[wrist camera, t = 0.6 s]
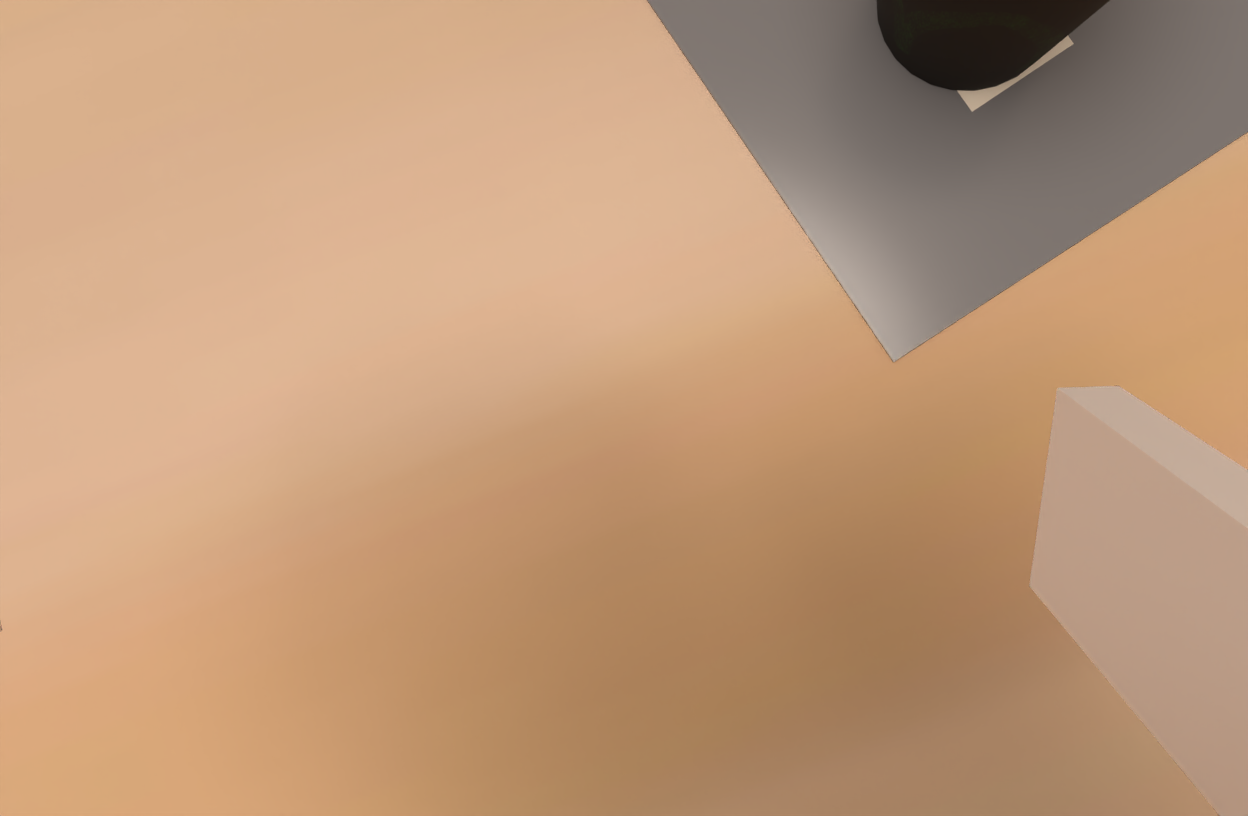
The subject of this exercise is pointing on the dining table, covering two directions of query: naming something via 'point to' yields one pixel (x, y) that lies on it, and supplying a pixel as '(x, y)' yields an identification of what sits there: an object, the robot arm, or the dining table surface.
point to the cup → (976, 36)
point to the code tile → (963, 139)
